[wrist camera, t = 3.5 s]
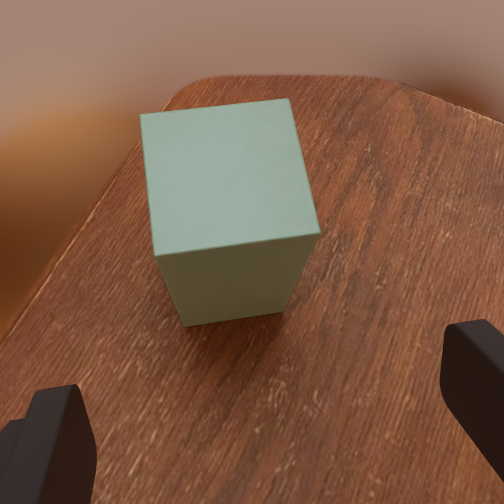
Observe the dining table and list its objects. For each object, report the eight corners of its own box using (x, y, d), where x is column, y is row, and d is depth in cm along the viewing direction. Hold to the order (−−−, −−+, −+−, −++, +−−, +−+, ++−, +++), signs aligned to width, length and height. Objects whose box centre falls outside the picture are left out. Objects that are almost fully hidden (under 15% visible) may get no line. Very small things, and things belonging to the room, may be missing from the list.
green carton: (183, 327, 23) (153, 256, 14) (172, 233, 25) (138, 113, 15) (284, 311, 23) (321, 233, 14) (266, 220, 25) (289, 97, 16)
